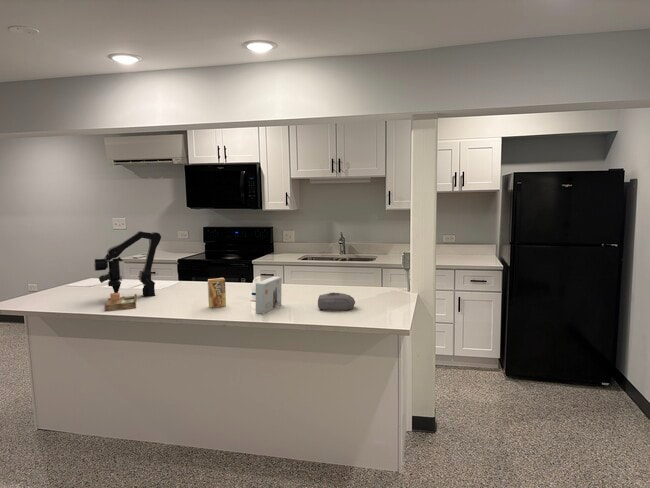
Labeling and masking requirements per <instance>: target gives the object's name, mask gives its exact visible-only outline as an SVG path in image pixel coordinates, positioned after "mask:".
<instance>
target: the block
mask: <svg viewBox="0 0 650 488" xmlns="http://www.w3.org/2000/svg"><path fill="white" fill-rule="evenodd" d="M120 297H121V293H120V292H118V293H114V292H112V293H110V295H109V298H110V299H111V301H112V300H120Z"/></svg>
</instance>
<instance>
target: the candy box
mask: <svg viewBox="0 0 650 488" xmlns="http://www.w3.org/2000/svg"><path fill="white" fill-rule="evenodd" d="M207 296H208V307H209V308H210V309H213V308H212V307H214V308H219V307H221V308H222V307H226V306H227V297H226V296H227V295H226V279H225V278H224V277H219V278H218V277H217V278H208V279H207Z"/></svg>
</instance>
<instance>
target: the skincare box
mask: <svg viewBox="0 0 650 488" xmlns="http://www.w3.org/2000/svg"><path fill="white" fill-rule="evenodd" d="M282 280H283V279H282V276H275V275H274V276H271V277H269V278H266V279H263V280H260V281H258V282H255V314H262V315H264V314H266V313H268V312H270V311H272V310H274V309H276V308H277V306H278V307H280V306H281V305H282ZM279 305H280V306H279Z"/></svg>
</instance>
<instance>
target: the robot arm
mask: <svg viewBox="0 0 650 488" xmlns="http://www.w3.org/2000/svg"><path fill="white" fill-rule="evenodd" d="M141 239H147V240H148V249H147V254H146V258H145V262H144V265H143V268H142V270H139V274H138V276H137V277H138V280H139V282H140V283H141V284H142V285H143V287H142V296H143V297H144V298H145V297H155V296H156V291H155V284H156V282H154V281H153V280H152V268H153V263H154V260H155V255H156V251H157V248H158V246H159V244H160V242H161V240H162V235H161V234H160V233H159V232H156V231H153V232H145V231H141V230H138V231H137V232H136V233H134V234H133V235H132V236H130V237H128V238H127V239H126V240H124V241H123V242H121V243H119V244H117V245H114V246H112V247H110V248H108V249H107V253H106V255H105V256H104V258H95V259H94V267H93V268H94V271H95V272H99V271H106V270H107V269H108V272H107V273H106V274H102V275H100V276H99V277H98V281H99V282H100V284H103V283H104V282H106V281H108V283H107V287H111V288H112V290H113V293H119V290H120V288H121V284H122V282H121V281H123V277H122V276H121V269H120V262H122V261H124V260H123V259H122V258H121V256H120V255H121V254H122V253H123V252H124V251H125V250H126V249H127V248H129V247H131V246H132V245H133V244H135V243H137V242H138V241H139V240H141Z"/></svg>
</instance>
